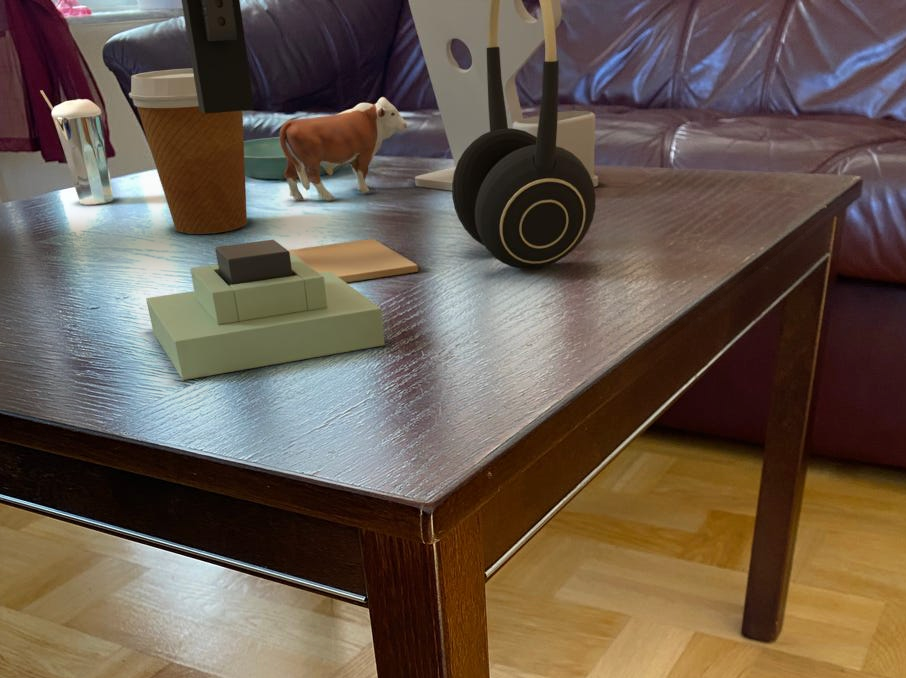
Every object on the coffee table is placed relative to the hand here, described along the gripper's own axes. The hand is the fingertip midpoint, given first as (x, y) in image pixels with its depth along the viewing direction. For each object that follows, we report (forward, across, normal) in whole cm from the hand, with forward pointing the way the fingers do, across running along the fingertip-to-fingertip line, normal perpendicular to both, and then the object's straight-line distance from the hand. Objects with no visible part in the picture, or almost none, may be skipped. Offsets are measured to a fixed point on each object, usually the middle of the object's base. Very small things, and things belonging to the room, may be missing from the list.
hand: (226, 109), depth 56 cm
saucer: (+13, +59, -18) cm, 63 cm away
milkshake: (+13, +54, +4) cm, 55 cm away
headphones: (+13, +9, -22) cm, 27 cm away
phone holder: (+13, +37, -34) cm, 52 cm away
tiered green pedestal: (+13, 0, 0) cm, 13 cm away
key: (+9, 0, 0) cm, 9 cm away
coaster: (+13, +15, -9) cm, 21 cm away
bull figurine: (+13, +42, -19) cm, 48 cm away
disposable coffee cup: (+13, +35, -4) cm, 37 cm away
